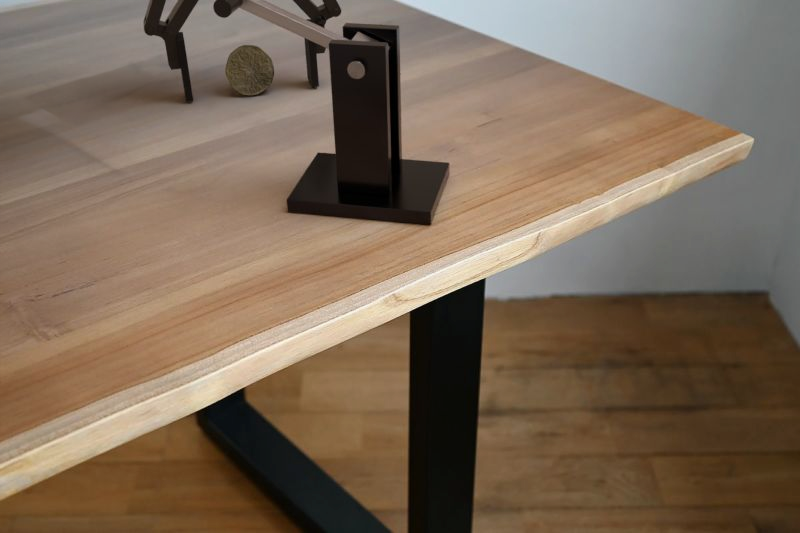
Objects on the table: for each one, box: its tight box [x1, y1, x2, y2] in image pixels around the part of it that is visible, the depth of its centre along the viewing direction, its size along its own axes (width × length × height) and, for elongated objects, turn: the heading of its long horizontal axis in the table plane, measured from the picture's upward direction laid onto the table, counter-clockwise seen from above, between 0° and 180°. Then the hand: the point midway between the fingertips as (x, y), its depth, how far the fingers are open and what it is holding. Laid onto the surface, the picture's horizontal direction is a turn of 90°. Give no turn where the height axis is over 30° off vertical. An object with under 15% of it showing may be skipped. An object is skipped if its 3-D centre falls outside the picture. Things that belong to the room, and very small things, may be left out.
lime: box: [224, 44, 275, 96], centre depth 96 cm, size 4×5×5 cm
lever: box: [212, 0, 390, 51], centre depth 71 cm, size 13×6×2 cm, turn 78°
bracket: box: [286, 22, 450, 226], centre depth 74 cm, size 12×9×14 cm
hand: (251, 89), depth 97 cm, fingers open, 12 cm apart
